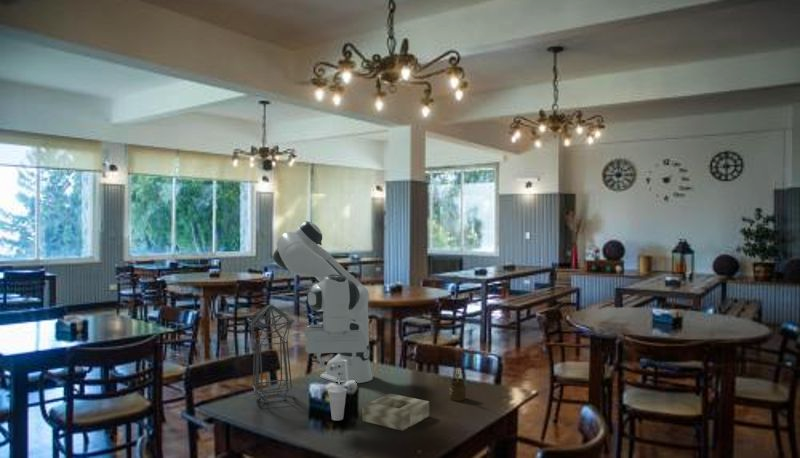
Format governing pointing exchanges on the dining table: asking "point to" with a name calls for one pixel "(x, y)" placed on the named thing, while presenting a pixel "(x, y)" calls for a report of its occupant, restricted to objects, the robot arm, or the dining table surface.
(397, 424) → the socket block
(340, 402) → the smoothie
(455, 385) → the brown bottle
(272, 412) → the dining table surface
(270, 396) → the geometric lantern
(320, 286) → the robot arm
